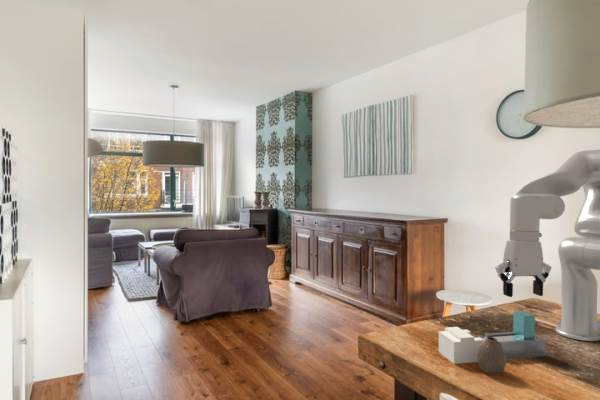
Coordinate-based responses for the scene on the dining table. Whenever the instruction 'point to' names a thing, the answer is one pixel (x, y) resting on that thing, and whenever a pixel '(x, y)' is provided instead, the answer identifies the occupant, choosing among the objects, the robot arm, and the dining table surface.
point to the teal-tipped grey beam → (520, 327)
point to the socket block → (459, 345)
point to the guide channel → (521, 346)
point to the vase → (491, 357)
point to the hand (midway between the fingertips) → (522, 295)
